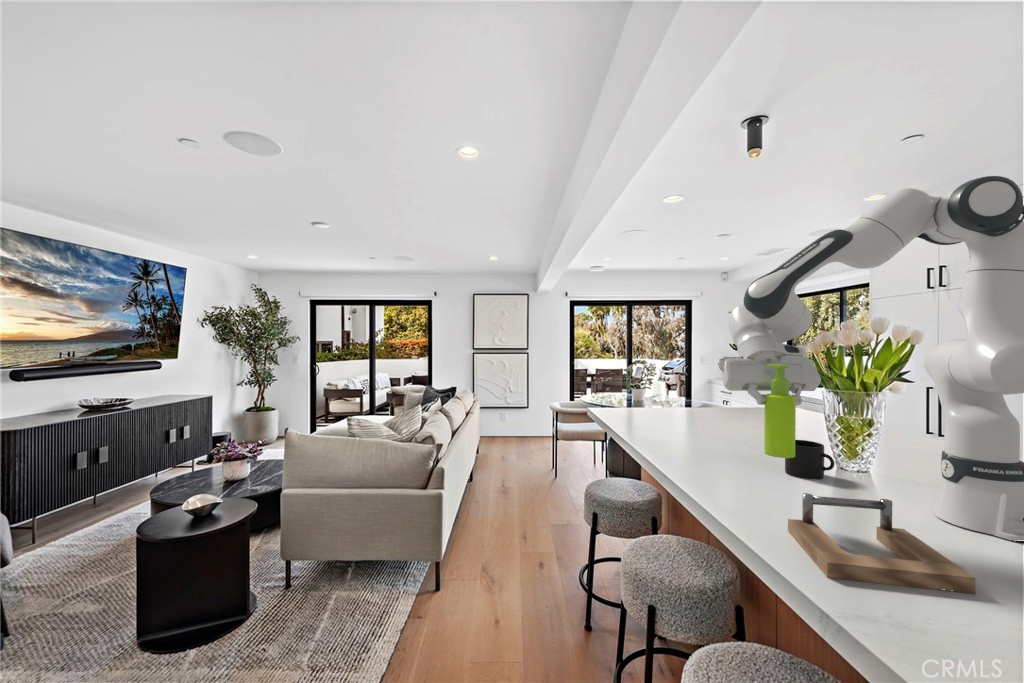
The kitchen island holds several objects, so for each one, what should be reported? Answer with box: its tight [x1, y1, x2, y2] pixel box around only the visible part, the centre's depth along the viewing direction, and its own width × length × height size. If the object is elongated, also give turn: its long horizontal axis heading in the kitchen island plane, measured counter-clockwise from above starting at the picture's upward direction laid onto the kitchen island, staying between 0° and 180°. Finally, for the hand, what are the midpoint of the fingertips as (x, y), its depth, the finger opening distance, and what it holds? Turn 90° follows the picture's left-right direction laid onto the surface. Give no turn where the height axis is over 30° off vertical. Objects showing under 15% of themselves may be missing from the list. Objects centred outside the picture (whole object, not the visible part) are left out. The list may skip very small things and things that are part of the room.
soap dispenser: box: [763, 364, 797, 459], centre depth 99 cm, size 6×7×20 cm
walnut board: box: [787, 518, 977, 595], centre depth 80 cm, size 20×18×2 cm
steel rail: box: [801, 492, 893, 531], centre depth 87 cm, size 15×2×6 cm, turn 76°
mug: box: [784, 439, 835, 480], centre depth 127 cm, size 9×12×9 cm
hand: (780, 403), depth 98 cm, fingers closed on soap dispenser, 6 cm apart
